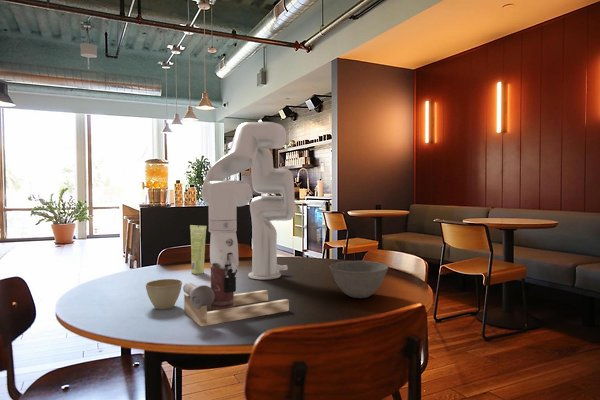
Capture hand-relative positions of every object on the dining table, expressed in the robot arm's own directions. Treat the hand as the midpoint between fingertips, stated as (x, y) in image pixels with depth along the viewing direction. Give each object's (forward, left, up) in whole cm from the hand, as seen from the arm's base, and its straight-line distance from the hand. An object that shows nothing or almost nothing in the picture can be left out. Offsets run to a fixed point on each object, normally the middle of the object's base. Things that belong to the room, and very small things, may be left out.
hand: (223, 288), depth 113 cm
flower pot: (+12, -15, -7) cm, 21 cm away
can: (0, +1, -7) cm, 7 cm away
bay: (-3, +1, -7) cm, 8 cm away
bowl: (-44, +5, -7) cm, 45 cm away
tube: (-12, -57, -7) cm, 58 cm away
